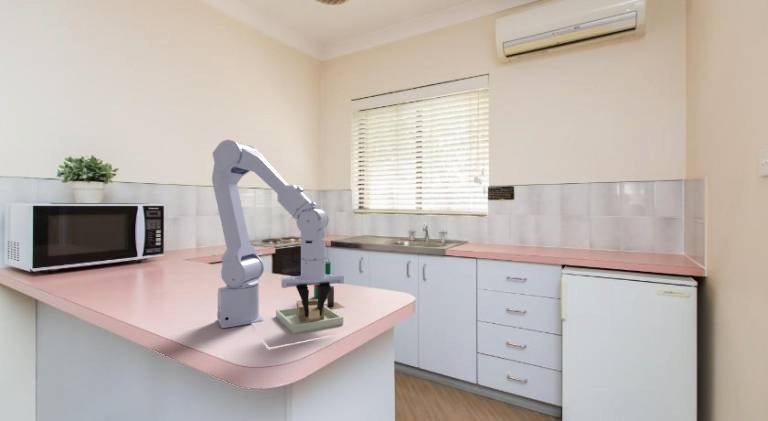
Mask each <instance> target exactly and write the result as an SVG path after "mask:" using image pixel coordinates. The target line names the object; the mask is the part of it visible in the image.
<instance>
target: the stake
mask: <svg viewBox="0 0 768 421" xmlns="http://www.w3.org/2000/svg"><path fill="white" fill-rule="evenodd" d="M326 299H327V303H324V306H326V307H328V308H329V309H331V310H332V311H334V310H338V309H344V308H346V307H345V306H343V305H342V304H340V303H339V302H336V301H335V287H334V286H333V285H331V286H330V291H329V293H328V295H327V298H326Z"/></svg>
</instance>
